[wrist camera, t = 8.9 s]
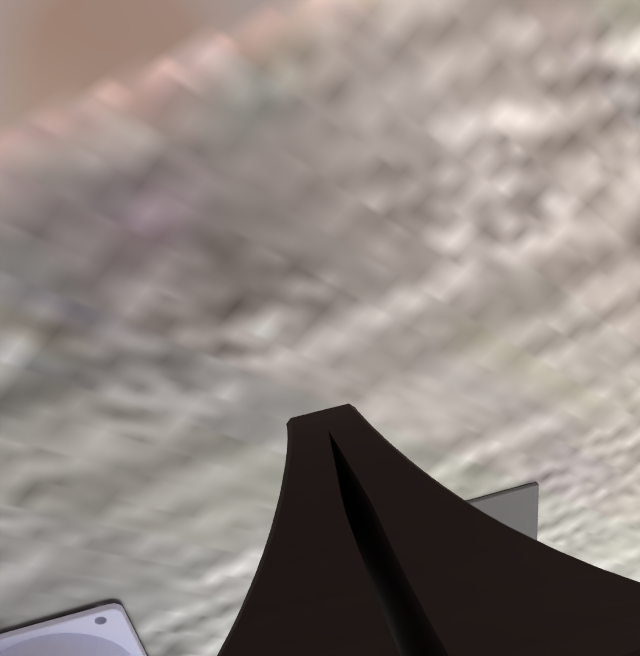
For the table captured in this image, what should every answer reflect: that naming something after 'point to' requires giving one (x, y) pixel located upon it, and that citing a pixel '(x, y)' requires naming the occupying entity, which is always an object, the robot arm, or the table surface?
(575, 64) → the table surface
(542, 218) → the table surface
